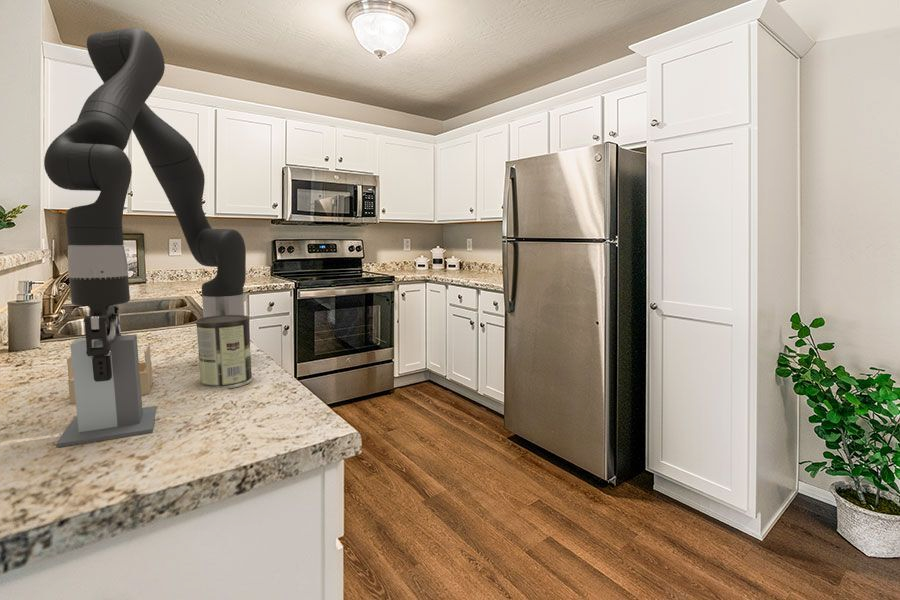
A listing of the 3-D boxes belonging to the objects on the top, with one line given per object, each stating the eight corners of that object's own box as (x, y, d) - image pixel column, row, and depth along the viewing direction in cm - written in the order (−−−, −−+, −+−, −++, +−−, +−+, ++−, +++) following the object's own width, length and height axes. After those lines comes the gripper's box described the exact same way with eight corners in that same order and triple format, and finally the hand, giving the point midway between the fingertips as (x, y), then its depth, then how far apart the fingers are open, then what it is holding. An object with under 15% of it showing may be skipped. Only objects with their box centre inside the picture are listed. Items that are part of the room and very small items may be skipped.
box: (142, 413, 81) (136, 334, 80) (139, 423, 77) (133, 339, 75) (85, 421, 78) (77, 338, 76) (78, 432, 73) (70, 344, 71)
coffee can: (226, 374, 108) (223, 313, 106) (262, 378, 105) (259, 316, 103) (188, 386, 98) (183, 320, 96) (226, 392, 95) (223, 323, 93)
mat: (157, 408, 85) (157, 405, 85) (152, 432, 75) (152, 428, 75) (74, 420, 80) (74, 417, 79) (56, 447, 69) (56, 443, 69)
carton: (152, 384, 100) (149, 342, 99) (149, 396, 92) (145, 352, 91) (81, 392, 94) (77, 348, 93) (70, 407, 86) (65, 359, 85)
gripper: (121, 276, 70) (130, 382, 72) (132, 271, 82) (139, 361, 84) (57, 278, 66) (68, 389, 68) (79, 272, 79) (87, 366, 81)
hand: (107, 373), depth 76 cm, fingers open, 8 cm apart
